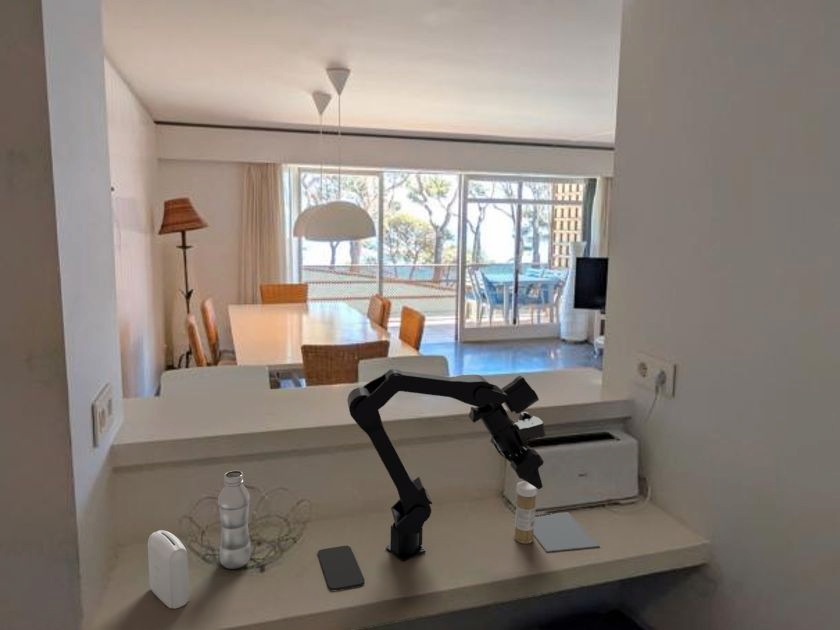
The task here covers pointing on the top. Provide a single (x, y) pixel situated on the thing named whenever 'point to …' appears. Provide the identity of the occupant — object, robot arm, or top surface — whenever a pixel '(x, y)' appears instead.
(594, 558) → the top surface
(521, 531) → the sprinkles bottle
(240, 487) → the plastic bottle
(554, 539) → the mat
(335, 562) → the phone
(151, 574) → the photo printer
